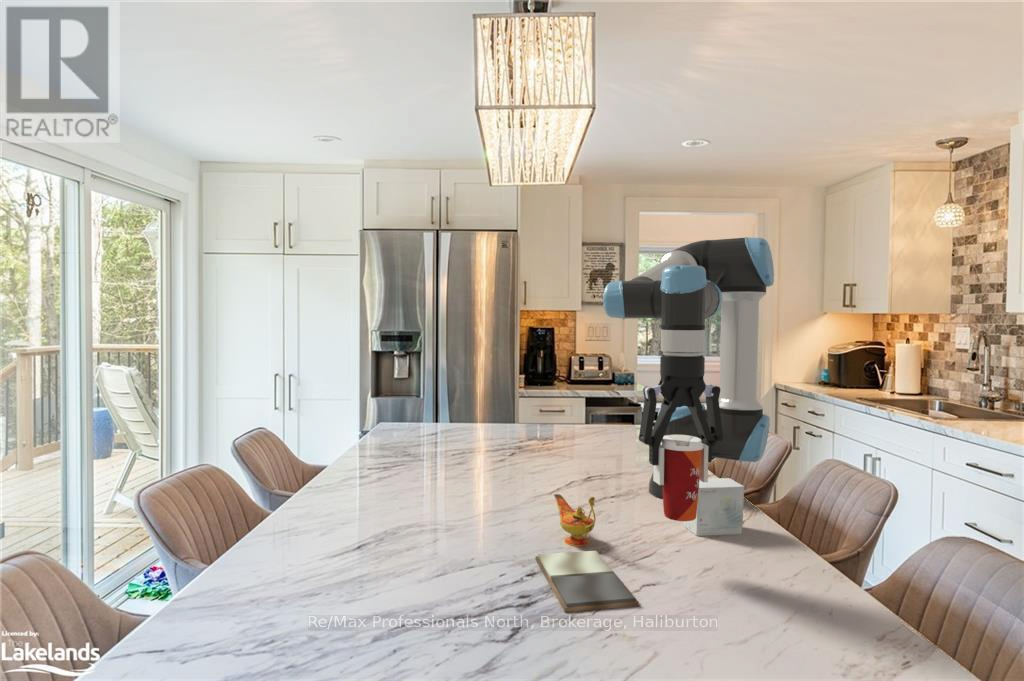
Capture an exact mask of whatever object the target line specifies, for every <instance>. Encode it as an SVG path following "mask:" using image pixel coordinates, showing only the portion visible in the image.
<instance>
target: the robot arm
mask: <svg viewBox="0 0 1024 681" xmlns="http://www.w3.org/2000/svg"><path fill="white" fill-rule="evenodd" d="M773 260H774V259H773V254H772V250H771V247H770V244H769V242H768V241H767V240H766V239H765V238H764V237H747V236H746V237H736V238H735V237H734V238H720V239H711V240H710V239H704V240H698V241H694V242H691V243H688V244H685V245H682V246H679V247H677V248H676V249H675V248H674V249H673V250H671V251H669V252H668V253H666V254H665V255H664V256H663V257H662V258H661V260H660V262H659V263H657V264H656V265H654V266H653V267H651V268H649V269H647V270H645V271H644V272H642V273H640V274H639V275H637V276H635V277H634V278H632V279H631V280H619V281H618V280H617V281H611V282H609V283H607V284H606V286H605V287H604V290H603V295H602V304H603V309H604V311H605V314H606V316H608V317H610V318H613V319H622V320H626V319H657V320H658V319H660V351H661V352H662V353H663V354H661V356H660V357H659V358H660V360H659V361H660V364H659V365H660V366H659V369H660V370H659V371H660V372H659V374H660V380H659V383H658V385H654V386H651V387H649V386H644V387H643V389H642V392H643V393H642V394H643V398H644V402H643V409H642V415H641V421H640V427H639V433H638V441H640V442H641V443H642V444H644V445H647V446H648V450H649V451H648V462H649V464H651V466H653V470H652V474H651V476H650V479H649V481H648V482H649V483H648V492H649V493H650V495H653V496H654V497H657V498H660V499H663V488H662V485H664V448H663V447H661V446H660V444H661V442H662V439H663V437H664V436H666V435H689V436H694V437H698V438H700V439H701V441H702V445H703V446H704V448H703V449H702V454H701V467H700V481H702V482H708V479H709V463H712V460H713V459H714V458H715V459H716V458H717V459H722V460H730V461H735V462H739V463H741V462H744V463H745V462H747V463H757V462H760V461H761V459H762V457H763V456H764V453H765V451H766V447H767V443H768V439H769V433H770V427H771V426H770V425H771V424H770V423H771V422H770V421H771V419H770V418H771V417H770V416H769V415H767V414H766V413H764V414H763V412H764V408H763V407H764V406H763V405H762V404H761V403H760V402H759V401H758V398H757V390H758V387H757V386H758V349H759V318H760V317H759V316H760V314H759V313H760V301H761V300H762V298H764V297H765V296H766V295H767V287H771V286H773V285H774V283H775V279H774V278H775V277H774V276H775V271H774V270H775V269H774V261H773ZM719 310H720V337H719V338H720V342H719V344H720V345H719V346H720V347H719V348H720V349H719V380H718V381H719V383H718V384H719V386H718V385H713V384H706V382H705V378H704V376H705V369H706V368H705V362H706V361H705V360H706V359H705V358H706V357H704V355H702V353H705V352H706V320H707V319H709V318H712V317H713V316H714V315H716V314H717V313H718V312H719ZM659 394H661V395H662V397H663V399H662V402H661V404H660V408H659V409H658V411H657V417H656V410H657V405H658V404H657V399H659ZM702 394H704V396H705V404H704V403H702V402H701V399H700V398H701V396H702ZM655 417H656V420H655ZM654 422H655V423H654Z"/></svg>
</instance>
